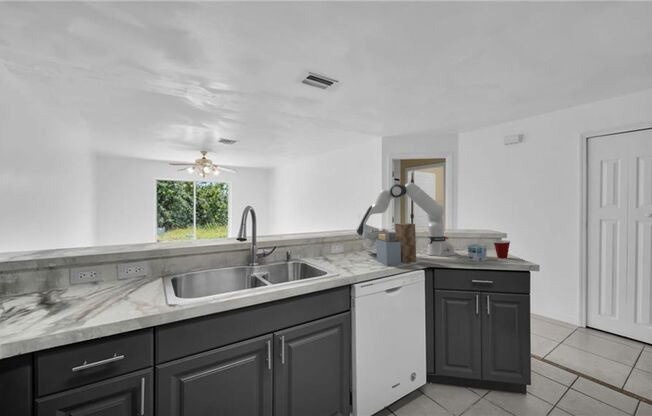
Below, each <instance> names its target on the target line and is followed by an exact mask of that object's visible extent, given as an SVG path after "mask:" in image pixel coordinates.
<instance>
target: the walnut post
mask: <svg viewBox="0 0 652 416" xmlns="http://www.w3.org/2000/svg"><path fill="white" fill-rule="evenodd" d="M394 228H395V231H394V233H396V240H400V244H401V264H408V263H417V245H416V243H417V241H416V238H417V237H416V224H415V223H409V222H406V223H404V222H403V223H394Z"/></svg>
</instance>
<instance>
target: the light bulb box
mask: <svg viewBox="0 0 652 416" xmlns="http://www.w3.org/2000/svg"><path fill="white" fill-rule="evenodd" d="M467 251H468V253H467V256H468V258H467V259H468V261H469V262H470V261H471V262H475V263H477V262H479V263H480V262H483V261H484V262H485V261H487V259H488V258H487V244H484V243H483V244H482V243H472V244H468V245H467Z"/></svg>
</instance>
